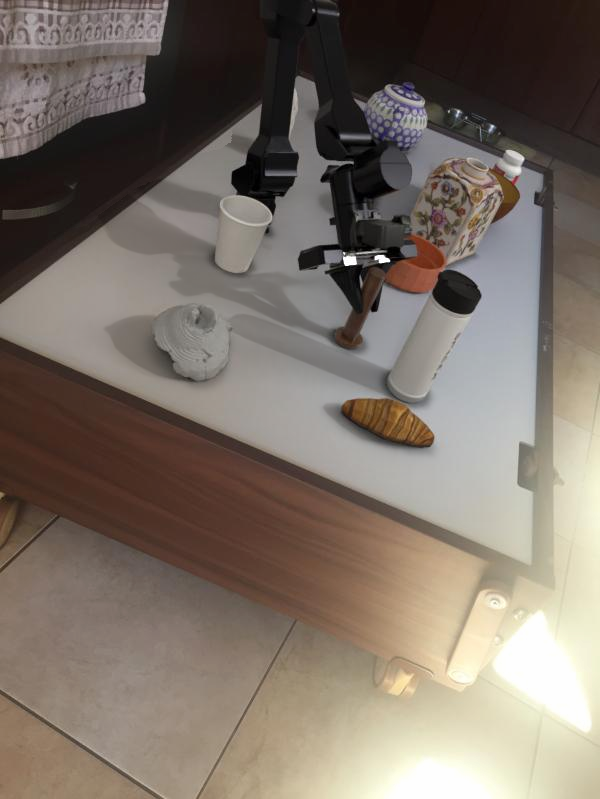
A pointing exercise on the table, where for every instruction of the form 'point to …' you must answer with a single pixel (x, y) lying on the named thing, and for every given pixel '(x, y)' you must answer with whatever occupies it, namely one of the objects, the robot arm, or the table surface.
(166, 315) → the grey clay mound
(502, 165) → the pill bottle
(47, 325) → the table surface
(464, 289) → the travel mug
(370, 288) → the brown flanged peg
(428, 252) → the orange round container
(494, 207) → the decorative jar
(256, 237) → the dixie cup
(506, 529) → the table surface
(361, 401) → the croissant
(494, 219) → the bowl
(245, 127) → the table surface
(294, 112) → the stone tool
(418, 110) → the teapot
